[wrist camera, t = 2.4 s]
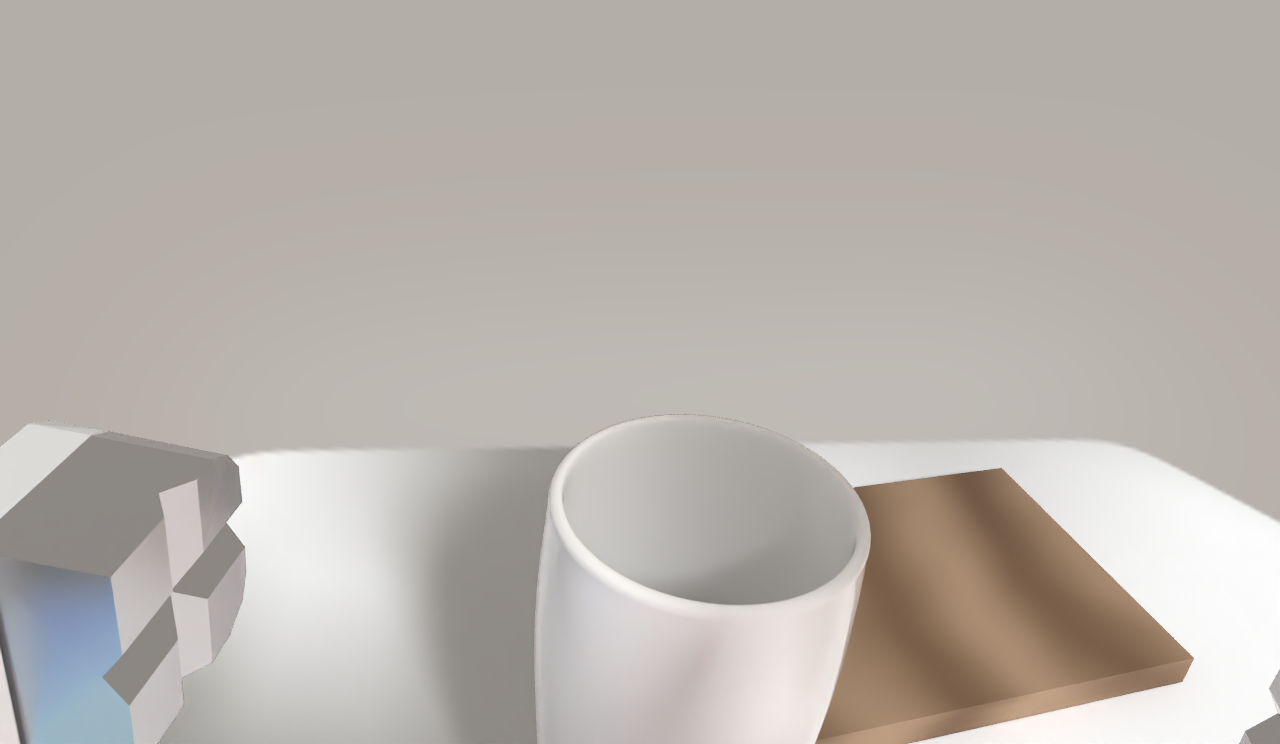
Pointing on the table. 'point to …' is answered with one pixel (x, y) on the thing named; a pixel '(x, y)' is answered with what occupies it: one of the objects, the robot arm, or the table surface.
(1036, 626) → the walnut board
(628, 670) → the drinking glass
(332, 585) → the table surface
